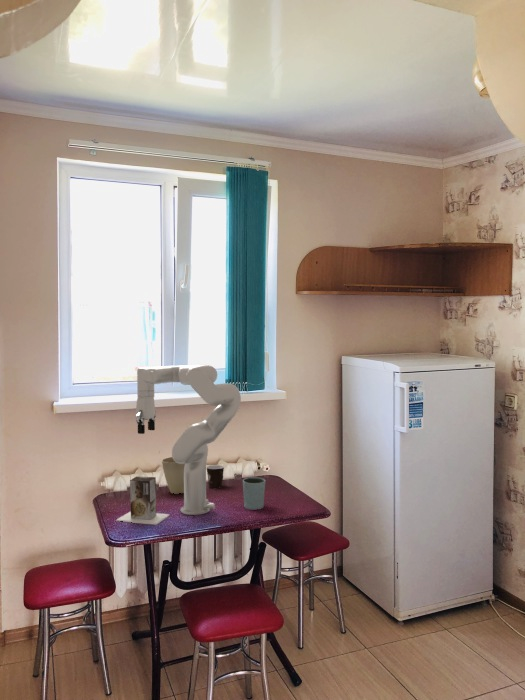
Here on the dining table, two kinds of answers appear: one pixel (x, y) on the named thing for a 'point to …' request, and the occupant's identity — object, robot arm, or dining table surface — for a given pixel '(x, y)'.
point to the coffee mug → (215, 475)
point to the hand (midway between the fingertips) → (146, 431)
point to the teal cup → (253, 493)
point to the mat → (154, 520)
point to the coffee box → (143, 497)
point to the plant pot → (174, 475)
